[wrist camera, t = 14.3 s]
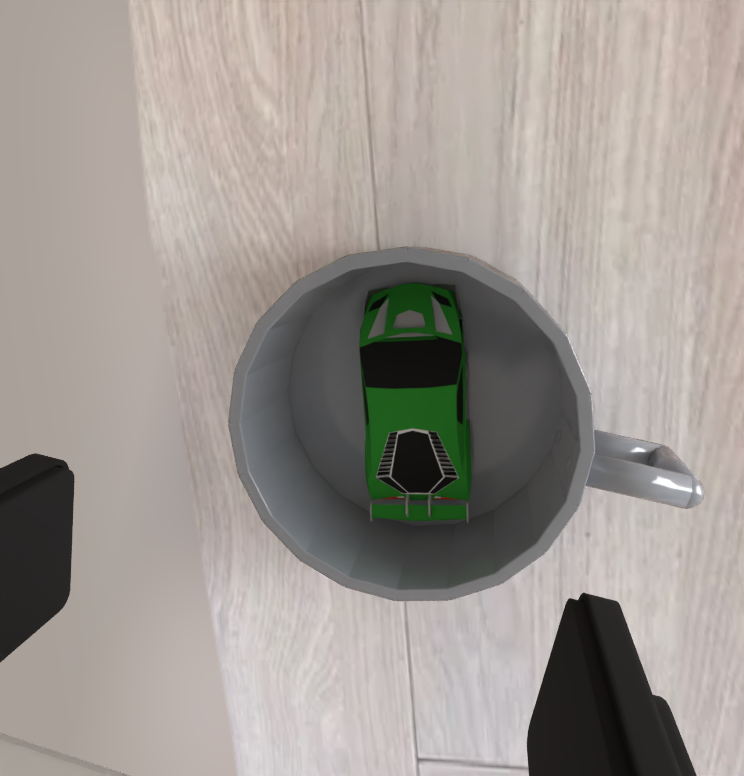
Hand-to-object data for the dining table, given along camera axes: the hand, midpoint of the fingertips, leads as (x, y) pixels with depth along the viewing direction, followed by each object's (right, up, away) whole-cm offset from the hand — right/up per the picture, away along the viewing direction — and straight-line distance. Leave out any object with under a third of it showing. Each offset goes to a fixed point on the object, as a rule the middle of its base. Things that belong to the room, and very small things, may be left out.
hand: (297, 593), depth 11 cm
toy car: (+3, +3, +16) cm, 16 cm away
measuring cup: (+6, +3, +16) cm, 17 cm away
